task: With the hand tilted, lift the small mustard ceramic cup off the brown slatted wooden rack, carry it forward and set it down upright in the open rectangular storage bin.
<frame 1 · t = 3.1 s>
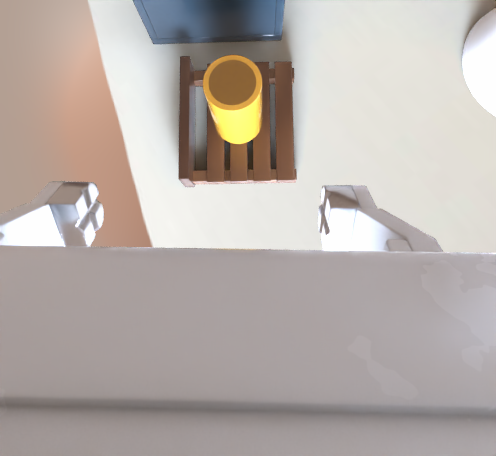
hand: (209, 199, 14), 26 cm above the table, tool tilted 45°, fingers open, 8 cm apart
brown slatted wooden rack: (239, 128, 41), on the table
cup: (238, 121, 39), point 2 cm above the table, touching brown slatted wooden rack
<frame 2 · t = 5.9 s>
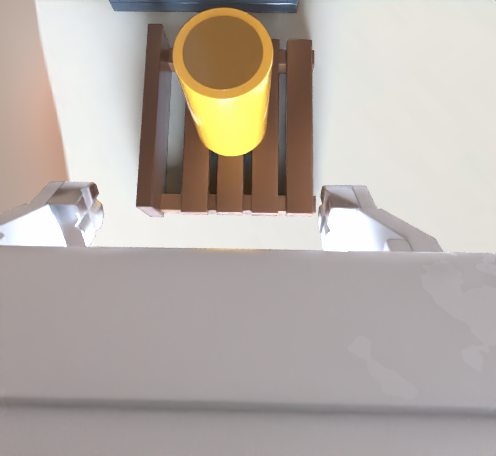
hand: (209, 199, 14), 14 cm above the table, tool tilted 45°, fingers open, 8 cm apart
brown slatted wooden rack: (233, 133, 28), on the table
cup: (231, 122, 26), point 2 cm above the table, touching brown slatted wooden rack
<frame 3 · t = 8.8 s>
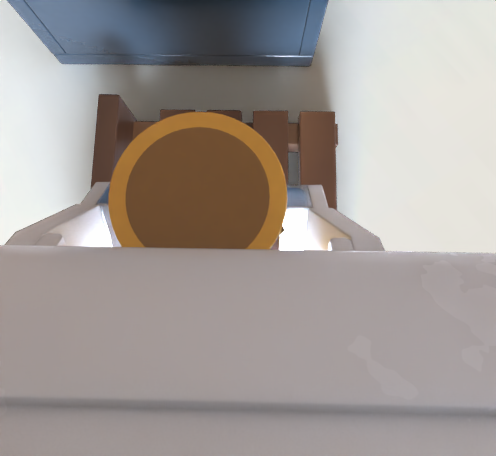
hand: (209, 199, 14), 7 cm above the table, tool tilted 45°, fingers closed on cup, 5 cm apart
brown slatted wooden rack: (223, 239, 20), on the table
cup: (221, 235, 18), point 2 cm above the table, touching brown slatted wooden rack, gripper
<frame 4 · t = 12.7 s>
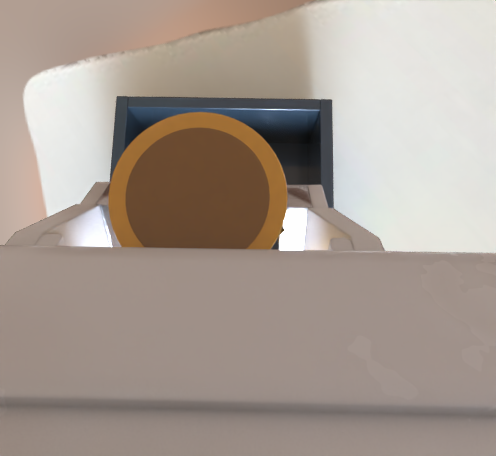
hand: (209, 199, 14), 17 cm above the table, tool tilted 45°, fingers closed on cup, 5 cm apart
cup: (221, 235, 18), point 13 cm above the table, touching gripper
open rectangular storage bin: (227, 210, 31), on the table
when the fingers open (6 cm above the table, at t = 16.8 s): cup stays where it is, resting on open rectangular storage bin.
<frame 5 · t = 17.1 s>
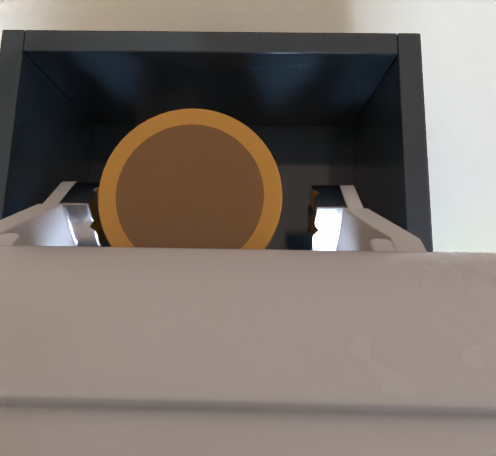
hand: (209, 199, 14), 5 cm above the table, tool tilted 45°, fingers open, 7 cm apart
cup: (217, 235, 18), point 1 cm above the table, touching open rectangular storage bin
open rectangular storage bin: (221, 236, 19), on the table
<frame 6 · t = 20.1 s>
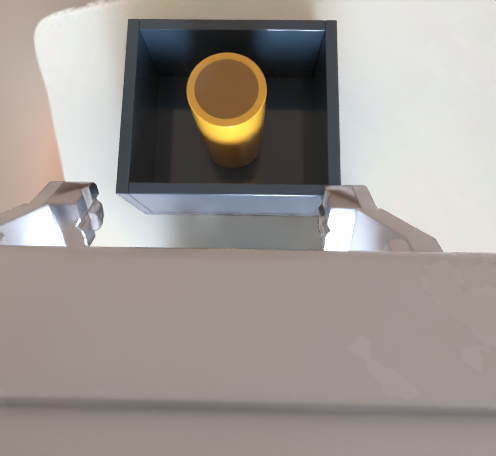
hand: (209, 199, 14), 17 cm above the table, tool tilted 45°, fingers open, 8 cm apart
cup: (232, 139, 31), point 1 cm above the table, touching open rectangular storage bin
open rectangular storage bin: (234, 143, 32), on the table
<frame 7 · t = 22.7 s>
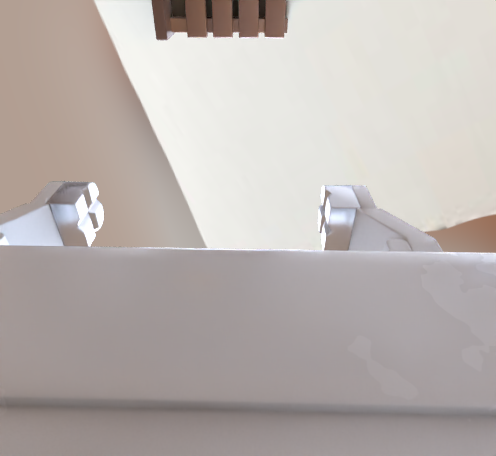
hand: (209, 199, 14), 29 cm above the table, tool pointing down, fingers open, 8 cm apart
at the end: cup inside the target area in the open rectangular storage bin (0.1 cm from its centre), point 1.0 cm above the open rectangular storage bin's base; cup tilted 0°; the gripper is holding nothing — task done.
